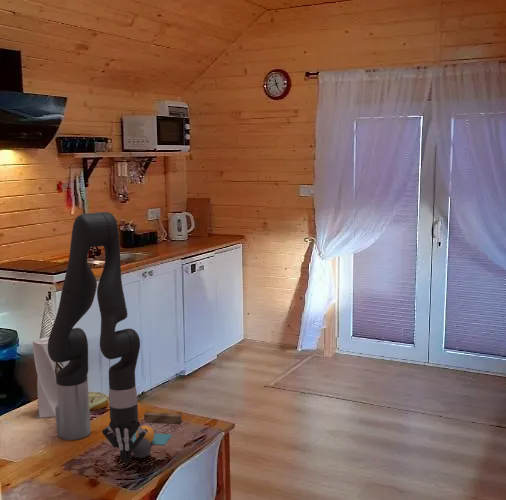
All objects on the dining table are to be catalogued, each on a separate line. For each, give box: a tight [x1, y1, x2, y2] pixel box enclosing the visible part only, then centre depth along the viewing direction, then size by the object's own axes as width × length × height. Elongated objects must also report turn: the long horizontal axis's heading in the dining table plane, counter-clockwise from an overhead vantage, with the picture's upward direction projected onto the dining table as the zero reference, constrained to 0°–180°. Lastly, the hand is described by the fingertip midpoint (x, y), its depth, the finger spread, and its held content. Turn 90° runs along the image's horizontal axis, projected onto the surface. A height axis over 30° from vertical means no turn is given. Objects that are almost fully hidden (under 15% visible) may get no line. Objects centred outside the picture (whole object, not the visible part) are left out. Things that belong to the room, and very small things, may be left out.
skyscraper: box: [32, 332, 58, 419], centre depth 211 cm, size 8×8×28 cm
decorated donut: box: [88, 391, 109, 411], centre depth 220 cm, size 10×11×4 cm
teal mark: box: [132, 432, 173, 446], centre depth 193 cm, size 12×7×1 cm, turn 78°
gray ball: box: [132, 438, 152, 459], centre depth 181 cm, size 6×6×6 cm
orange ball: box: [136, 425, 155, 443], centre depth 190 cm, size 6×6×6 cm
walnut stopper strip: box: [143, 411, 183, 425], centre depth 205 cm, size 12×2×2 cm, turn 79°
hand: (126, 461), depth 176 cm, fingers closed
